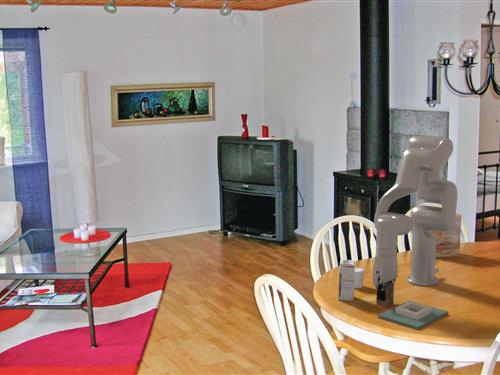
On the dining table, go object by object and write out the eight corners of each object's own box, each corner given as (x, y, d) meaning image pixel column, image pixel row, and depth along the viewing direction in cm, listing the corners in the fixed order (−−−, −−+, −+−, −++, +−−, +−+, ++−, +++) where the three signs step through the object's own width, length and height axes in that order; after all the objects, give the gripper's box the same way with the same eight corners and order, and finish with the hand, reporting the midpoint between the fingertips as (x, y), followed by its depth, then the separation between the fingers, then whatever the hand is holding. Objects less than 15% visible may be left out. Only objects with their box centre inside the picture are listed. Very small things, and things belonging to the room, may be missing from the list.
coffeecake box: (430, 258, 307) (432, 216, 303) (423, 254, 314) (424, 213, 310) (460, 255, 311) (462, 214, 307) (451, 251, 317) (453, 211, 314)
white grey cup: (363, 289, 265) (364, 272, 264) (346, 288, 267) (346, 271, 266) (364, 284, 272) (364, 267, 271) (347, 283, 273) (347, 266, 272)
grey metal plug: (383, 301, 252) (383, 280, 251) (393, 304, 249) (394, 283, 248) (376, 304, 249) (376, 283, 248) (386, 307, 246) (387, 286, 245)
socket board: (409, 303, 250) (409, 295, 249) (448, 314, 239) (448, 306, 238) (378, 317, 236) (378, 309, 235) (417, 329, 225) (418, 321, 224)
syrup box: (338, 295, 259) (339, 259, 256) (354, 296, 258) (355, 259, 255) (338, 300, 253) (338, 263, 251) (354, 301, 252) (354, 264, 250)
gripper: (390, 244, 254) (389, 290, 257) (364, 253, 242) (363, 301, 246) (407, 248, 249) (406, 295, 252) (381, 257, 237) (380, 306, 240)
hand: (385, 297), depth 249 cm, fingers closed on grey metal plug, 4 cm apart
